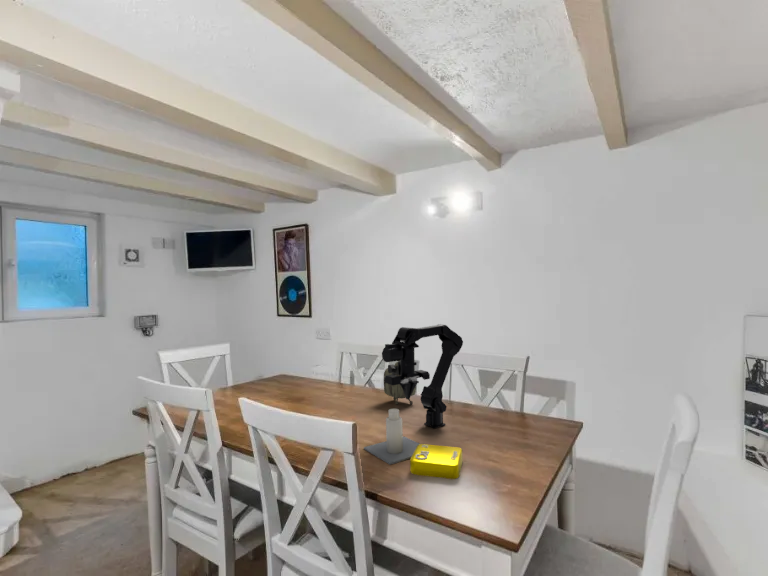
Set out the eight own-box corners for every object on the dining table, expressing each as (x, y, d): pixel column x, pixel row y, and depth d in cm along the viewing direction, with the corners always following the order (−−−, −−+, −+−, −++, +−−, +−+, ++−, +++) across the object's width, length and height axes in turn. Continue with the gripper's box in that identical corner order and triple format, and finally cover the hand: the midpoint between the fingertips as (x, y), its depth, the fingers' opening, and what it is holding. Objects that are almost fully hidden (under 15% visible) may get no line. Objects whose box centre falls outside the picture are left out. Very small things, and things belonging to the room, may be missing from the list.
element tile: (458, 481, 119) (458, 464, 119) (408, 475, 123) (408, 459, 123) (463, 460, 134) (462, 445, 134) (418, 455, 138) (418, 441, 138)
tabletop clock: (416, 404, 198) (415, 353, 198) (404, 408, 191) (403, 355, 191) (394, 399, 207) (393, 350, 208) (382, 402, 201) (381, 352, 201)
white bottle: (403, 447, 142) (402, 407, 142) (402, 454, 137) (401, 413, 136) (387, 446, 143) (386, 407, 142) (385, 453, 137) (384, 413, 137)
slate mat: (404, 437, 153) (404, 436, 153) (432, 451, 140) (432, 449, 140) (363, 448, 143) (363, 447, 143) (390, 464, 130) (390, 463, 130)
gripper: (412, 354, 171) (413, 391, 171) (376, 359, 161) (376, 398, 161) (430, 358, 162) (430, 397, 162) (392, 363, 152) (393, 405, 152)
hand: (407, 399), depth 159 cm, fingers closed
